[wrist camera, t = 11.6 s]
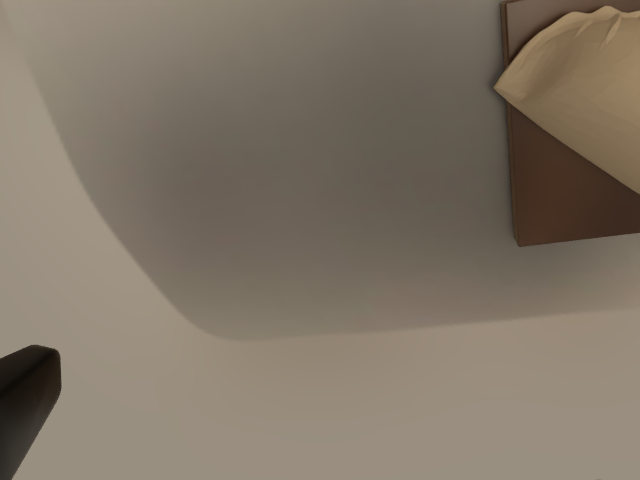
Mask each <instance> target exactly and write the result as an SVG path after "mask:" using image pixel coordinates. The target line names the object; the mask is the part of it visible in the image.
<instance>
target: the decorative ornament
mask: <svg viewBox="0 0 640 480" xmlns="http://www.w3.org/2000/svg"><path fill="white" fill-rule="evenodd" d="M494 89H495V90H496V91H497V92H498V93H499V94H500V95H501V96H503V97H504V98H505V99H506V100H507V101H508V102H509V103H511V104H512V105H513V106H514V107H516V108H517V109H518V110H519V111H521V112H522V113H523V114H524V115H526V116H527V117H528V118H529V119H531V120H532V121H533V122H535V123H536V124H537V125H539V126H540V127H541V128H542V129H544V130H545V131H547V132H548V133H550V134H551V135H552V136H554V137H555V138H557V139H558V140H560V141H561V142H562V143H564V144H565V145H567V146H568V147H570V148H571V149H573V150H574V151H576V152H577V153H579V154H580V155H581V156H583V157H584V158H586V159H587V160H589V161H590V162H592V163H593V164H595V165H596V166H598V167H599V168H601V169H602V170H604V171H605V172H607V173H608V174H610V175H611V176H613V177H614V178H616V179H617V180H618V181H620V182H621V183H623V184H624V185H626V186H627V187H629V188H630V189H632V190H633V191H635V192H637V193H639V194H640V11H635V12H631V13H625V12H621V11H619V10H617V9H615V8H613V7H611V6H604V7H602V8H600V9H599V10H597V11H595V12H593V13H590V14H587V13H581V12H571V13H569V14H567V15H565V16H563V17H561V18H560V19H559V20H557V21H556V22H555V23H553V24H552V25H551V26H549V27H548V28H546V29H544V30H543V31H541V32H539V33H538V34H536V35H535V36H534V37H533V38H532V39H531V40H530V41H529V42H528V43H527V44H526V45H525V46H524V47H523V48H522V49H521V51H520V52H519V53H518V55H517V56H516V57H515V58H514V60H513V61H512V62H511V64H510V65H509V66H508V67H507V69H506V70H505V71H504V73H503V74H502V75H501V77H500V78H499V80H498V81H497V83H496V85H495V86H494Z"/></svg>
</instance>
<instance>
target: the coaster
mask: <svg viewBox="0 0 640 480" xmlns="http://www.w3.org/2000/svg"><path fill="white" fill-rule="evenodd" d="M604 6H611V7H613V8H615V9H617V10H619V11H621V12H625V13H631V12H635V11H640V0H507V1H502V2H501V4H500V7H501V24H502V40H503V57H504V71H505V70H506V69H507V67H508V66H509V65H510V64H511V62H512V61H513V60H514V58H515V57H516V56H517V55H518V53H519V52H520V51H521V49H522V48H523V47H524V46H525V45H526V44H527V43H528V42H529V41H530V40H531V39H532V38H533V37H534V36H535V35H536V34H538V33H539V32H541V31H543V30H544V29H546V28H548V27H549V26H551V25H552V24H553V23H555V22H556V21H557V20H559V19H560V18H561V17H563V16H565V15H567V14H569V13H571V12H581V13H587V14H590V13H593V12H595V11H597V10H599V9H600V8H602V7H604ZM506 108H507V124H508V141H509V158H510V175H511V191H512V208H513V225H514V238H515V240H516V242H517V244H518V246H519V247H522V246H530V245H539V244H547V243H556V242H564V241H573V240H581V239H590V238H598V237H607V236H615V235H624V234H632V233H640V194H639V193H637V192H635V191H633V190H632V189H630V188H629V187H627V186H626V185H624V184H623V183H621V182H620V181H618V180H617V179H616V178H614V177H613V176H611V175H610V174H608V173H607V172H605V171H604V170H602V169H601V168H599V167H598V166H596V165H595V164H593V163H592V162H590V161H589V160H587V159H586V158H584V157H583V156H581V155H580V154H579V153H577V152H576V151H574V150H573V149H571V148H570V147H568V146H567V145H565V144H564V143H562V142H561V141H560V140H558V139H557V138H555V137H554V136H552V135H551V134H550V133H548V132H547V131H545V130H544V129H542V128H541V127H540V126H539V125H537V124H536V123H535V122H533V121H532V120H531V119H529V118H528V117H527V116H526V115H524V114H523V113H522V112H521V111H519V110H518V109H517V108H516V107H514V106H513V105H512V104H511V103H509V102H508V101H507V100H506Z"/></svg>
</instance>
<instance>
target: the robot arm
mask: <svg viewBox="0 0 640 480" xmlns="http://www.w3.org/2000/svg"><path fill="white" fill-rule="evenodd" d="M60 391H61V364H60V354H59V352H58V351H57V350H55V349H52V348H48V347H44V346H40V345H31V346H28V347H26V348H23V349H21V350H19V351H16V352H14V353H12V354H10V355H7V356H5V357H3V358H0V480H12V478H13V476H14V475H15V473H16V471H17V469H18V468H19V466H20V464H21V462H22V461H23V459H24V457H25V456H26V454H27V452H28V450H29V449H30V447H31V445H32V444H33V442H34V440H35V438H36V436H37V435H38V433H39V431H40V430H41V428H42V426H43V424H44V423H45V421H46V419H47V418H48V415H49V414H50V412H51V411H52V409H53V407H54V405H55V404H56V402H57V400H58V398H59V395H60Z"/></svg>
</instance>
